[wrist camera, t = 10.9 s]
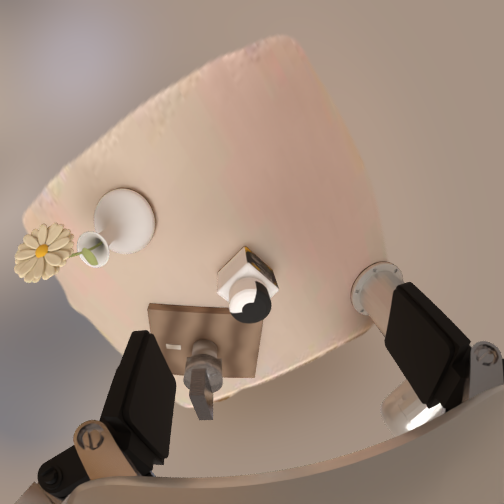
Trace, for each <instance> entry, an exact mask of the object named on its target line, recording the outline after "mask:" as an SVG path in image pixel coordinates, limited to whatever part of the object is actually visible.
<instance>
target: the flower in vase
mask: <svg viewBox="0 0 504 504" xmlns="http://www.w3.org/2000/svg"><path fill="white" fill-rule="evenodd" d="M63 227H64V225H63V224H59V225H58V223H54V224H52V226H49V227H48V228H47V225H46V224H42V225H41V226H40V228H39V230H37V229H34V230H33V231H32V232H31V235H29V234H27V235H25V236H24V238H23V241H24V243H23V244H20V245H19V247H18V251H17V253H16V254H15V258H16V260H15V263H16V264H17V265H16V266H15V267H14V270H15V273H17V274H18V275H19V277H20V278H23V277H25V278H24V281H25V282H27V283H30V282H33V283H36V282H38V281H39V280H40V278H41V277H42V278H43V279H44V280H47V279H48V278H49V277H52V276H53V275H54V274H57V273H58V272H59V267H62V266H64V265H65V264H66V259H68V258H70V257H73V256H77V255H79V256H80V258H81V259H82V261H83V262H84V263H85V264H87V265H88V266H90V267H94V268H99V267H102V266H104V265H105V264H106V263H107V261H108V259H109V249H110V250H112V251H114V252H116V253H120V254H132V253H136V252H138V251H140V250H142V249H143V248H145V247H146V246H147V245H148V243H149V242H150V241H151V239H152V237H153V234H154V229H155V219H154V214H153V211H152V209H151V207H150V205H149V203H148V202H147V201H146V199H145V198H143V197H142V196H141V195H140V194H138V193H137V192H135V191H132V190H129V189H115V190H112V191H110V192H108V193H107V194H105V195H104V196H103V197H102V198H101V199H100V201H99V202H98V204H97V207H96V209H95V213H94V227H95V231H96V232H92V231H88V232H85V233H83V234H82V235H81V236H80V237H79V239H78V242H77V251H78V252H77V253H74V254H73V251H74V250H73V249H72V247H73V245H74V243H73V242H72V239H73V238H74V235H73V234H70V232H71V231H70V230H69V229H68V230H67V229H63Z"/></svg>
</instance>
